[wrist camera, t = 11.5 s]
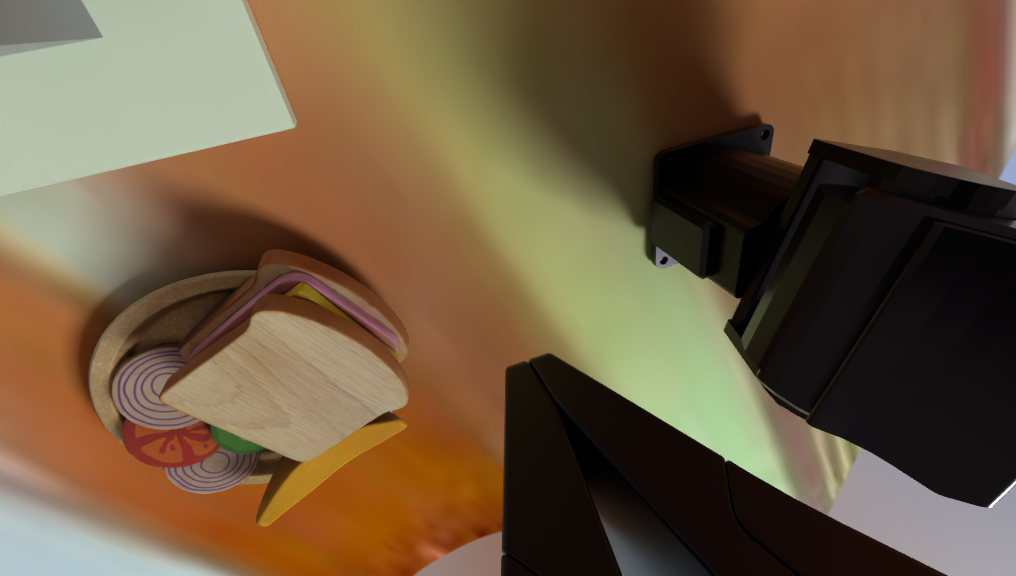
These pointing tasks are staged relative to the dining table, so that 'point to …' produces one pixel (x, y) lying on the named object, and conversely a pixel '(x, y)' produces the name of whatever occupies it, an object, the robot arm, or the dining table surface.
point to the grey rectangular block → (43, 24)
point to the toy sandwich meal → (253, 378)
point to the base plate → (137, 91)
